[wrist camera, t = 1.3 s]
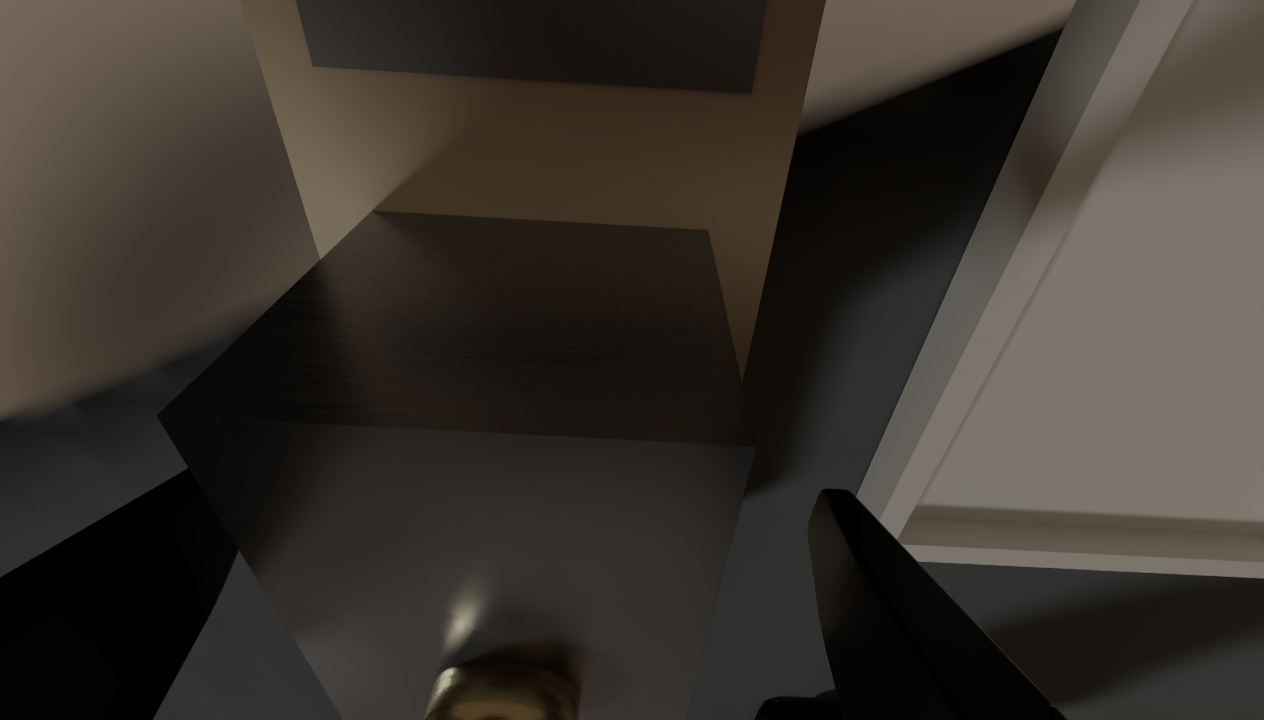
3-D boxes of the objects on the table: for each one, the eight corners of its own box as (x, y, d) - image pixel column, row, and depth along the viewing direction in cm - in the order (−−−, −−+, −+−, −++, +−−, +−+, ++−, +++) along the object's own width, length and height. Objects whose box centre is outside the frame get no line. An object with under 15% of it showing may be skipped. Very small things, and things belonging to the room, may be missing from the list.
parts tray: (1260, 539, 19) (1303, 580, 17) (846, 518, 18) (860, 558, 17) (1965, -56, 9) (2167, -56, 8) (1126, -112, 9) (1201, -121, 8)
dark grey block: (666, 524, 12) (677, 823, 8) (443, 512, 12) (336, 808, 8) (708, 230, 8) (773, 524, 4) (371, 210, 8) (76, 490, 4)
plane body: (677, 529, 19) (684, 649, 16) (472, 518, 19) (436, 637, 16) (800, -224, 8) (900, -336, 5) (326, -257, 8) (115, -395, 5)
